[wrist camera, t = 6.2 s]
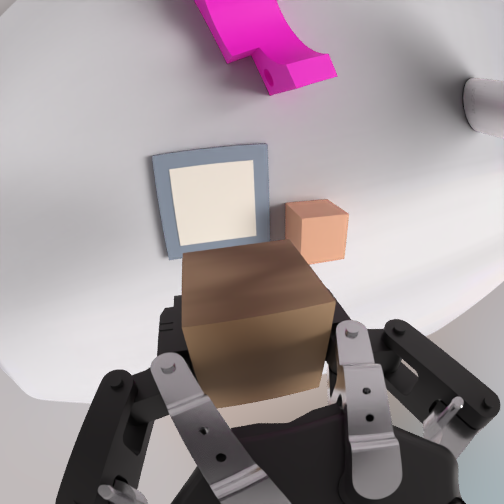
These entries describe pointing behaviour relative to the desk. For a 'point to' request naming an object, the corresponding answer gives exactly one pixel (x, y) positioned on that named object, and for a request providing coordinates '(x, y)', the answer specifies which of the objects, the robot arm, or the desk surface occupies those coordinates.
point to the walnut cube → (254, 321)
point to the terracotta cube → (317, 229)
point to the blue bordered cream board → (213, 197)
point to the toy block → (264, 43)
